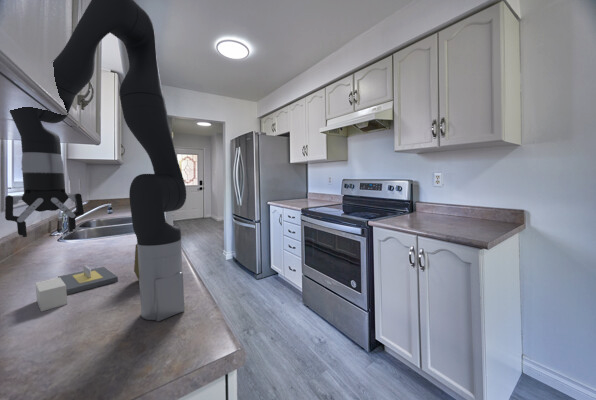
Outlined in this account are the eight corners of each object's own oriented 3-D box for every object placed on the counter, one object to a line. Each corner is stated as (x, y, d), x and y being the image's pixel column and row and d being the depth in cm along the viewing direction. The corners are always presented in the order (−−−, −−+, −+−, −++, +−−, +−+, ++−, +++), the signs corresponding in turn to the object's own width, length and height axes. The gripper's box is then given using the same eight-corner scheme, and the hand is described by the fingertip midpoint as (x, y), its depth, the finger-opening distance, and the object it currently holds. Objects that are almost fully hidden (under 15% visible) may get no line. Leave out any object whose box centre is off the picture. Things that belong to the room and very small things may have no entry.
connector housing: (67, 304, 65) (66, 285, 64) (41, 311, 61) (39, 291, 61) (61, 294, 70) (59, 277, 70) (36, 300, 67) (35, 282, 66)
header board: (118, 281, 80) (117, 267, 79) (67, 294, 70) (66, 279, 70) (103, 270, 90) (103, 258, 89) (58, 281, 80) (56, 267, 80)
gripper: (1, 170, 56) (7, 241, 57) (83, 172, 67) (87, 231, 68) (0, 171, 61) (6, 237, 62) (77, 173, 72) (81, 228, 73)
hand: (48, 234), depth 65 cm, fingers open, 8 cm apart
